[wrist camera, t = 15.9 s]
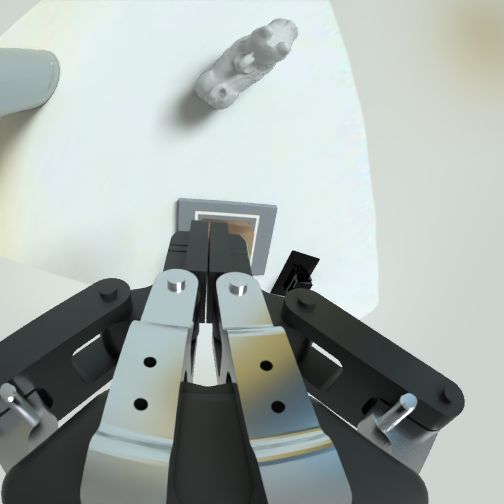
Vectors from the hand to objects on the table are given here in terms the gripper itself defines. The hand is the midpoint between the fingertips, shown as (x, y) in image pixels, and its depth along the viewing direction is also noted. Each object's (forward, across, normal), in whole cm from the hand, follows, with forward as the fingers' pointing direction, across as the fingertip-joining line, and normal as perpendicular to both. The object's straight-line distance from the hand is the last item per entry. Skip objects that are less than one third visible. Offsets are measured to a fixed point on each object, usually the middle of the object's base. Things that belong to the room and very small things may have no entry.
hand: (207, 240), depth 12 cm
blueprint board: (+27, -3, +15) cm, 31 cm away
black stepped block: (+28, -16, +22) cm, 39 cm away
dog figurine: (+27, -2, -10) cm, 29 cm away
